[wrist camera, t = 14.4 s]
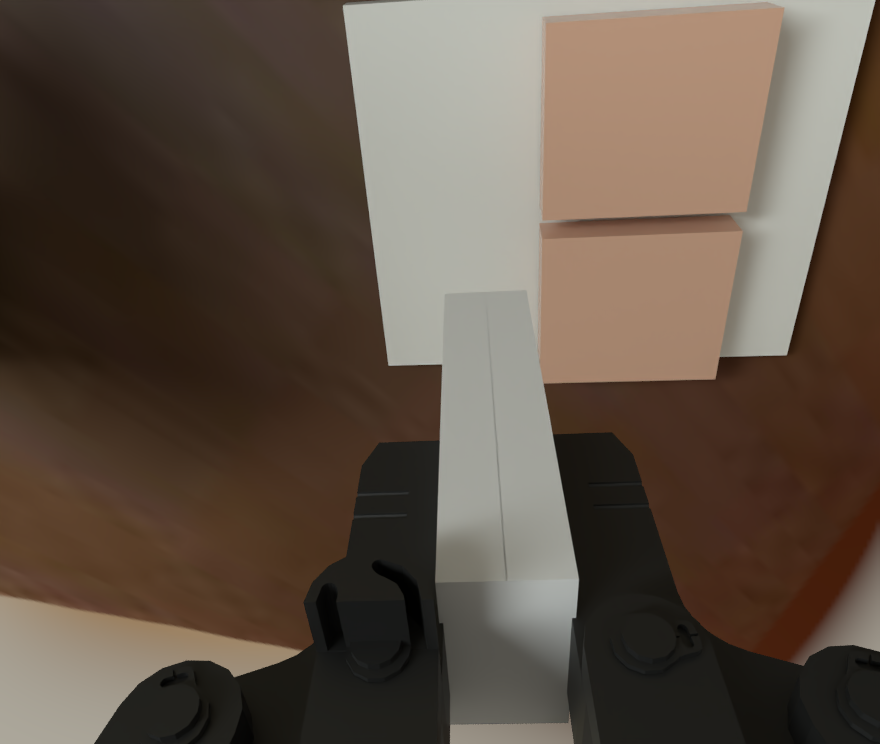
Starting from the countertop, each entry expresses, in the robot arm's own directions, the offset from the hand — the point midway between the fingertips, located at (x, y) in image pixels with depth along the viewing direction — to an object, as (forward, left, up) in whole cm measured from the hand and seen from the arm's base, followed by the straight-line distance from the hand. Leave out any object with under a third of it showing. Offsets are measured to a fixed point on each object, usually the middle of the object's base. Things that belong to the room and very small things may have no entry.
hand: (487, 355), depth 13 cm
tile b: (+3, -2, -23) cm, 24 cm away
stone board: (+5, -6, -26) cm, 27 cm away
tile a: (+3, -12, -23) cm, 26 cm away
